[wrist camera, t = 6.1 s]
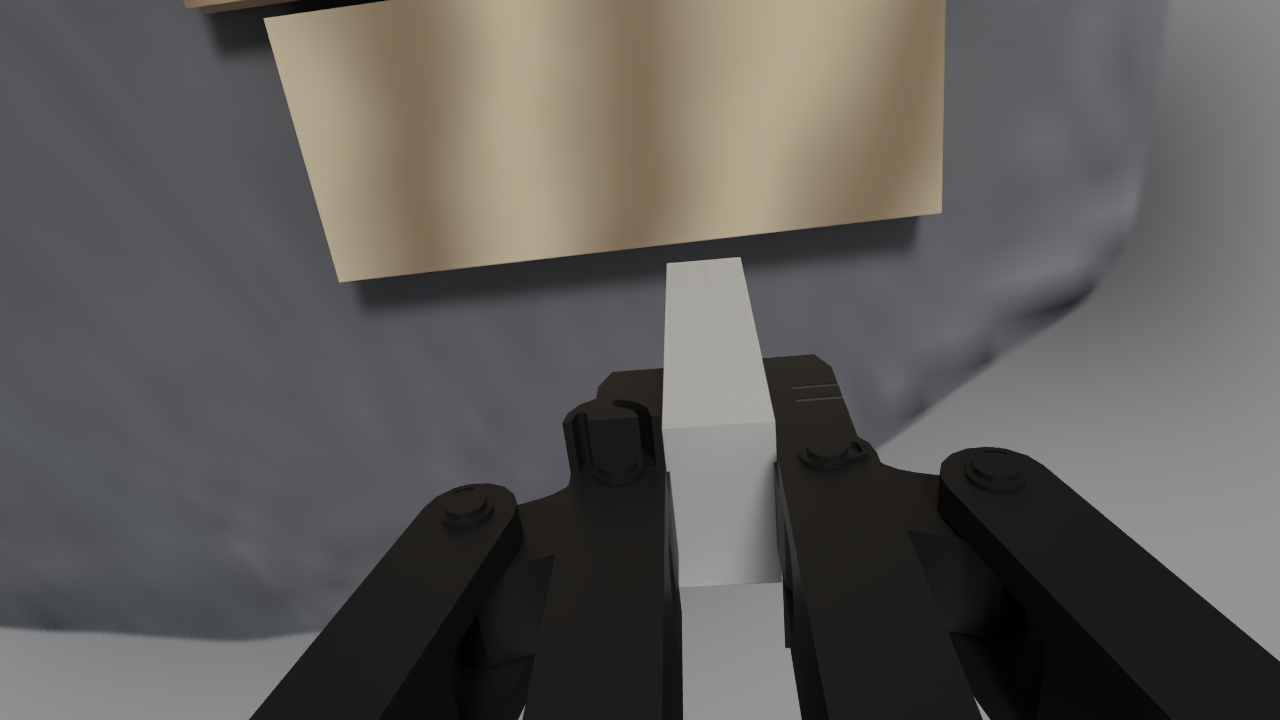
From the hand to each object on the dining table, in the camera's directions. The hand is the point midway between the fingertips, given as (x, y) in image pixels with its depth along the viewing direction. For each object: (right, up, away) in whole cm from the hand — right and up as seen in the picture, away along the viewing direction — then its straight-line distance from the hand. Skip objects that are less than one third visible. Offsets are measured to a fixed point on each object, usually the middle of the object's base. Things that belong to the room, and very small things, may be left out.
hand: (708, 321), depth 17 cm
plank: (-2, +7, +7) cm, 10 cm away
